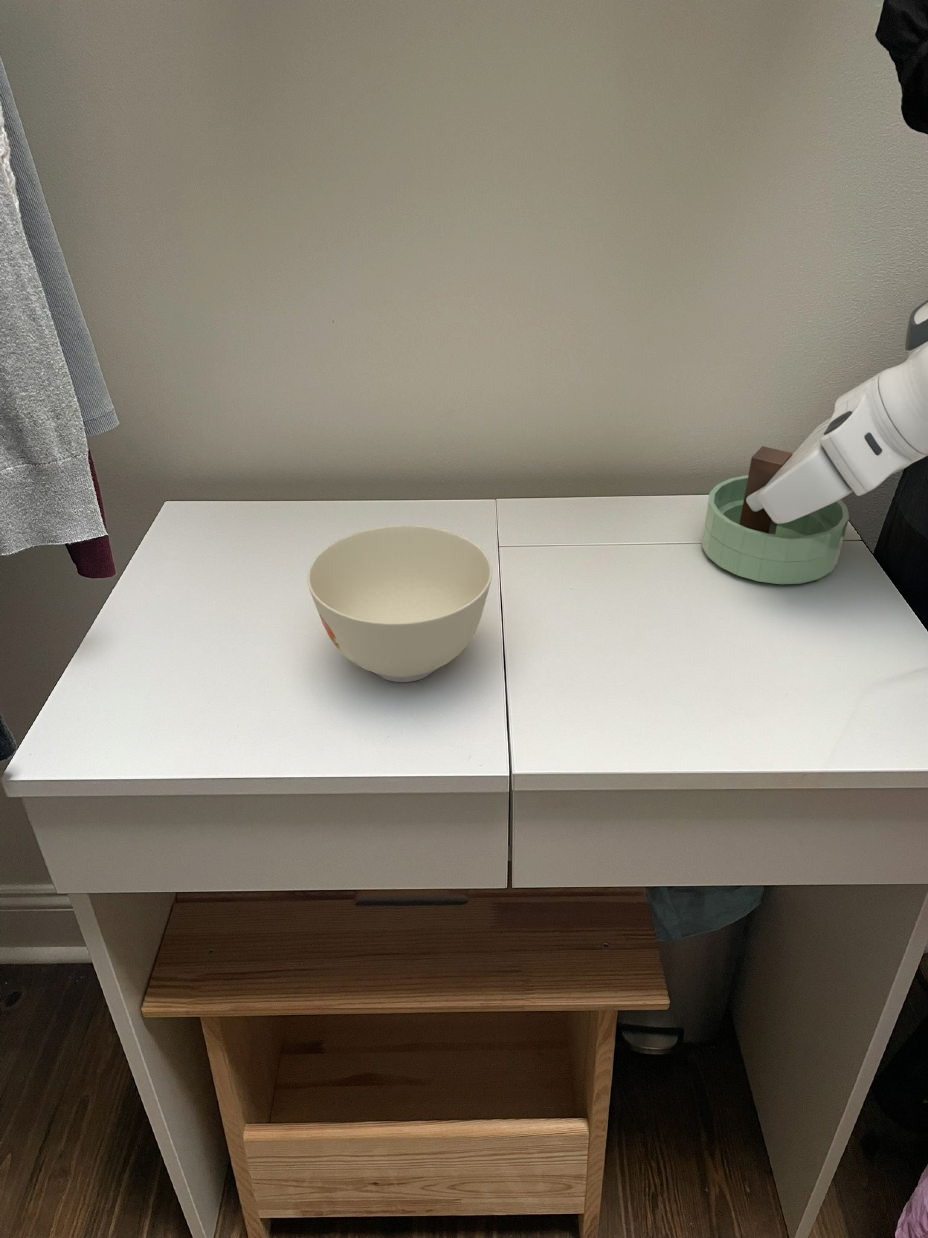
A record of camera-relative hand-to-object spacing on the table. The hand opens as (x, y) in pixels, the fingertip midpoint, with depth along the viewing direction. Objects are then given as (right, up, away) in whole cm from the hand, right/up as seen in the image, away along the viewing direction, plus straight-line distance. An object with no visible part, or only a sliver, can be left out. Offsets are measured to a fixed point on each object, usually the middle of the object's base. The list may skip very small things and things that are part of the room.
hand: (758, 494), depth 99 cm
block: (+1, -4, +3) cm, 5 cm away
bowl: (-36, -17, -11) cm, 42 cm away
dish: (+2, -6, +4) cm, 8 cm away
